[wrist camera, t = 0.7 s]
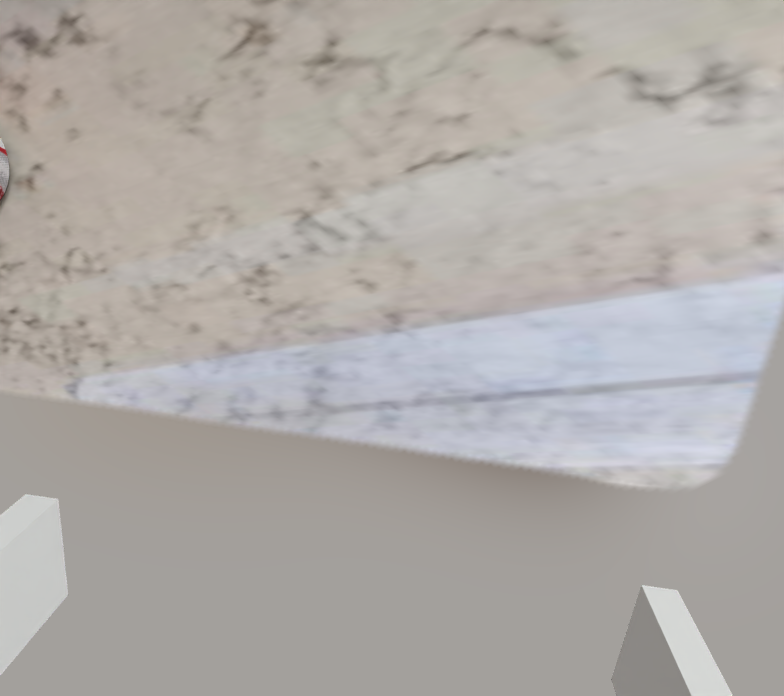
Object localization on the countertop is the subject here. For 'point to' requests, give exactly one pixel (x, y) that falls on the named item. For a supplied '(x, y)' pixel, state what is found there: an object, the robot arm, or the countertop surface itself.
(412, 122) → the countertop surface
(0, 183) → the soda can
